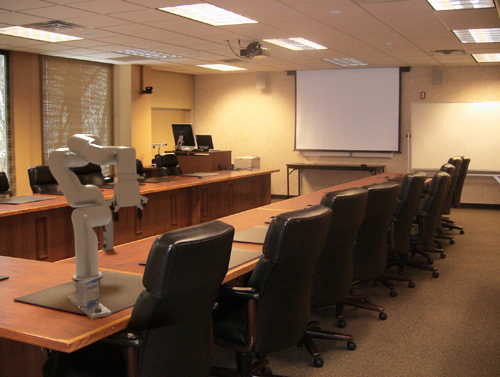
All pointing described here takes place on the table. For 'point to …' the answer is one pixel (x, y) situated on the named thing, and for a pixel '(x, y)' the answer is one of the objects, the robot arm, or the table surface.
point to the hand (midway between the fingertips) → (128, 220)
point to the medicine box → (87, 291)
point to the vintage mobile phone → (108, 236)
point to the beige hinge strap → (92, 309)
